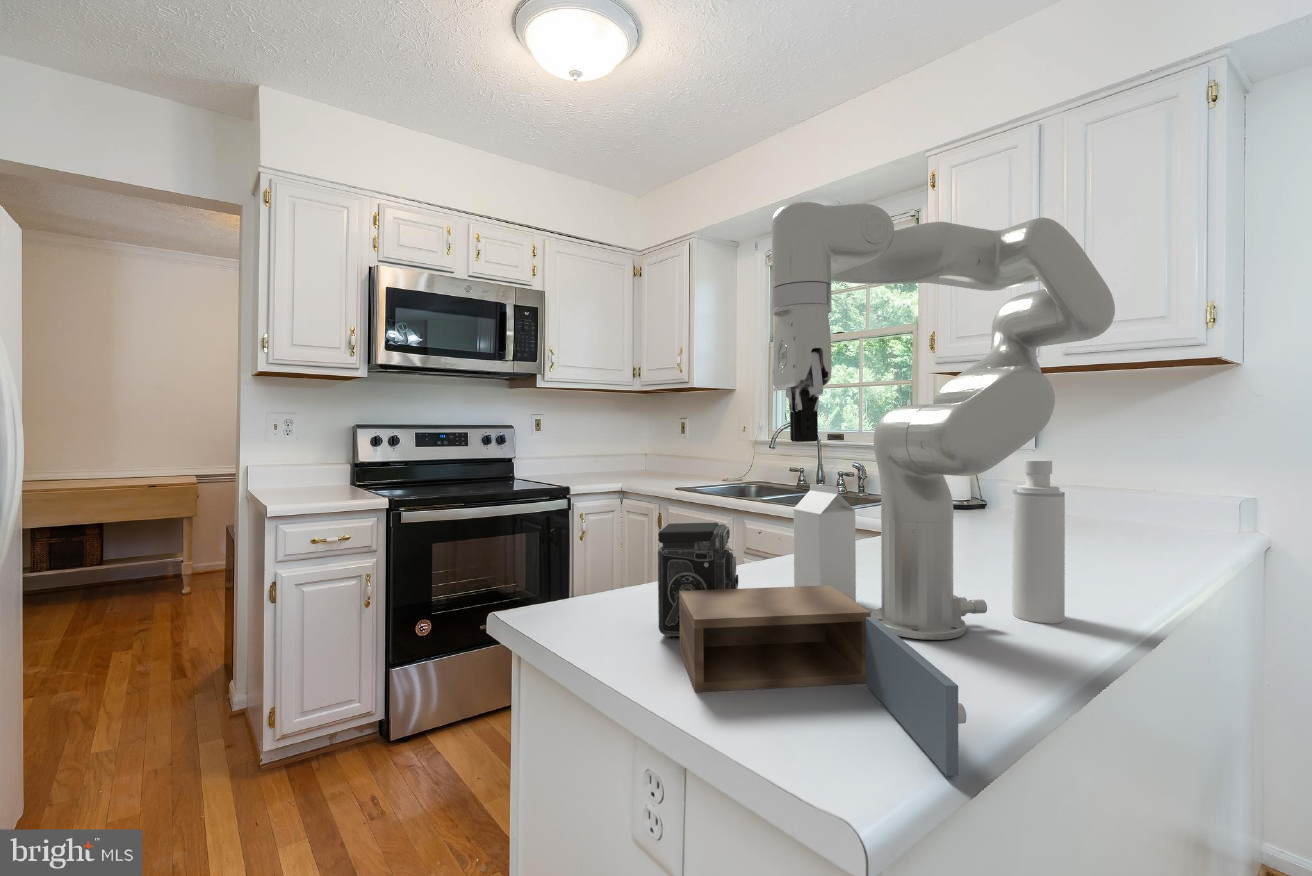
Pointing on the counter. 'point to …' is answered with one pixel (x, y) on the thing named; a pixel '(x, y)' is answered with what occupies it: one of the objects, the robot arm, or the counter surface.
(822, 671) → the cabinet
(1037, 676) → the counter surface
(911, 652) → the side door
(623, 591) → the counter surface
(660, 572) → the camera
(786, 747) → the counter surface
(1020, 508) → the spray bottle
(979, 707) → the counter surface
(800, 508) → the milk carton
